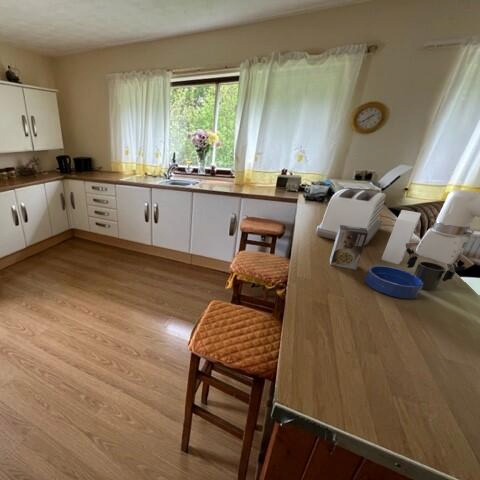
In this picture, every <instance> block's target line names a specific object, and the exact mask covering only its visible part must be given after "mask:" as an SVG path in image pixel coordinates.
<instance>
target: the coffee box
mask: <svg viewBox="0 0 480 480" xmlns="http://www.w3.org/2000/svg"><path fill="white" fill-rule="evenodd" d="M367 236H368V232H367V229H366V228H360V227H353V226H345V225H340V226H339V229H338V233H337V236H336V240H334V244H333V246H332V250H331V255H330V258H329V265H330V266H333V267H339V268H344V269H348V270H354V271H357V269H358V265H359V263H360V259H361V257H362V253H363V250H364V248H365V246H366V245H365V242H366V239H367Z"/></svg>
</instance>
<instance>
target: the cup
mask: <svg viewBox="0 0 480 480" xmlns="http://www.w3.org/2000/svg"><path fill="white" fill-rule="evenodd" d="M446 271H447V268H446V267H445V266H442V265H440V264H438V263H435V262H430V261H419V262H418V263H417V265H416V267H415V270H414V271H413V273H412V274H413V275H415V276H417V277H418V278H420V279H421V280H422V281H423V283H424V284H423V287H422V289H421V290H425V291H429V292H431V291H432V292H433V291H437V289H438V287H439V285H440V283H441V281H442V279H443V277H444V275H445V273H446Z"/></svg>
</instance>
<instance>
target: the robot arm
mask: <svg viewBox="0 0 480 480" xmlns="http://www.w3.org/2000/svg"><path fill="white" fill-rule="evenodd" d="M475 217H476V218H480V192H477V191H472V190H466V189H465V190H464V189H463V190H462V189H455V190H452V191H450V192H449V193H448V195H447V197H446V198H445V201H444V203H443V205H442V208H441V209H440V211H439V214H438V215H437V217H436V220H435V221H434V224H433V226H432V227H430V228H428V230H427V231H425V233H424V234H423V236H422V238H421V239H420V241H414V242H410V243H406V244H405V245H406V249H407V250H406V252H407V254H408V257H409V258H408V261H407V262H406V265H407V266H406V268H407V269H411V268H414V267H415V265H416V263H417V260H418V259H419V258H418V257H419V256H420V257H423V258H426V259H429V260H432V261H434V262H438V263H441V264H444V265H446V266H447V268H448V270H446V271H445V273H444V275H443V277H442V279H441V281H442V282H444V283H445V282H447V281H451V280H452V279H453V277H454V275H455V274H456V273H457V272H460V271H464V270H467V269H469V268H470V267H473V266H474V265H475V263H474V262H473V261H472V260H471V259H469V258H468V257H467V256H466V255H464V252H465V249H466V246H467V243H468V239H469V236H468V235H473V234H474V233H475V230H473V229H471V224H472V223H473V220H474V219H475ZM413 247H416V249H415V250H414V249H413ZM459 261H461V262H462V263H463V265H460V266H459V265H457V263H458V262H459Z"/></svg>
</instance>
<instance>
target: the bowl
mask: <svg viewBox="0 0 480 480" xmlns="http://www.w3.org/2000/svg"><path fill="white" fill-rule="evenodd" d="M413 274H414V273H411V272H409V271H406V270H403V269H400V268H397V267H392V266H388V265H372V266H369V267H368V269H367V271H366V274H365V276H364V283H366V284H367V286H369V287H370V288H372V289H373V290H376V291H377V292H380V293H382V294H385V295H388V296H390V297H395V298H399V299H410V300H411V299H416V298H418V297H419V295H420V293H421V291H422V290H423V289H422V287H423V284H424V283H423V281H422V280H421V279H420V278H418V277H417V276H415V275H413Z"/></svg>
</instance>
